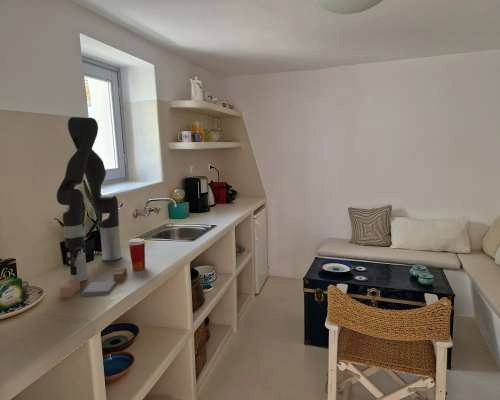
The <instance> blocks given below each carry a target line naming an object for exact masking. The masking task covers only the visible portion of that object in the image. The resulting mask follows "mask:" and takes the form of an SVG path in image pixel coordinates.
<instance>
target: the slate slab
mask: <svg viewBox="0 0 500 400" xmlns="http://www.w3.org/2000/svg"><path fill="white" fill-rule="evenodd" d="M116 285H117V283H116V281H114V280H112V281H111V280H110V281H93V282H90V283H89V284H88V285H87V286H86V288H84V289H83V291H82V292H81V294H82V295H81V296H82V297H85V296H87V297H89V296H104V295H110V294H111V292H112V291H113V289H114V288H115V287H116Z"/></svg>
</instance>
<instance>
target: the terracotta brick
mask: <svg viewBox="0 0 500 400" xmlns="http://www.w3.org/2000/svg"><path fill="white" fill-rule="evenodd" d="M80 283H81V282H79V280H70V279H69V280H68V281H66V282H65V283H64V284H63V285H61V286H60V287H59V291H60V293H59V294H60V298H70V297H71V298H72V297H73V296H74V295H75V294H76V293H77V292H78V291H79V290H80V289H81V285H80Z"/></svg>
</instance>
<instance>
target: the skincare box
mask: <svg viewBox="0 0 500 400" xmlns="http://www.w3.org/2000/svg"><path fill="white" fill-rule="evenodd" d="M73 258H74V257H73ZM74 259H76V258H74ZM69 262H70V261H69ZM76 269H77V274H76V275H71V271H70V267H68V272H69V273H68V274H69V278H70V279H69V280H79V282H80V283H81V282H83V281H86V280H88V279H89V275H88V267H87V258H86V257H85V253H84V252H83V253H80V255H79V258H78V261H77V262H76Z"/></svg>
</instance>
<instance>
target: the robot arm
mask: <svg viewBox="0 0 500 400" xmlns="http://www.w3.org/2000/svg"><path fill="white" fill-rule="evenodd" d="M67 129H68V132H69V133H68V134H69V135H70V138H71V141H72V142H73V144H74V146H75V149H76V152H74V153H73V155H72V156H71V157H70V159H69V160H68V162H67V165H66V169H65V175H64V178H63V180H62V181H61V183H60V185H59V187H58V189H57V192H56V201H57V202H58V204H60V205H62V206H69V208H68V210H67V211H64V212H63V214H62V220H63V221H62V222H63V235H64V237H63V238H64V244H65V245H64V246H65V248H67V249H69V251H68V252H66V253H65V261H66V267H67V268H69V267H70V271H71V275H76V274H77V269H76V262H77V261H78V258H79V255H80V253H85V258H86V257H87V252H86V251H87V250H86V240H85V232H84V226H83V220H82V214H83V213H82V212H83V208H84V207H83V206H84V202H85V197H84V194H83V192H82V190H80V189H78V188H76V187H77V186H78V185H81V184H82V183H83V180H84V176H85V179H86V181H87V183H88V187H89V190H90V191H89V192H90V195H91V199H92V204H93V207H94V208H93V209H94V210H95V212H96V213H97V214H101V215H102V214H103V215H104V214H109V217H107V218H105V219H102V220H100V221H99V233H100V243H101V252H102V260H103V261H108V262H110V261H117V260H120V259H121V258H122V257H123V255H122V244H121V234H120V222H119V221H120V219H119V201H118V197H117V196H116V195H113V194H111V195H110V194H109V195H102V194H101V187H102V185H103V183H104V181H105V178H106V176H107V171H106V167H105V165H104V161H103V159H102V158H101V157H100V155H98V153H97V152H96V151H95V150H94V149H93V147H94V146H95V145H94V143H95V142H96V139H97V137H98V133H99V124H98V121H97V120H96V119H95V118H94V117H89V116H88V117H87V116H72V117H70V118H69V119H68V120H67ZM73 257H74V258H76V259H74V258H73ZM69 261H70V262H69Z"/></svg>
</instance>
